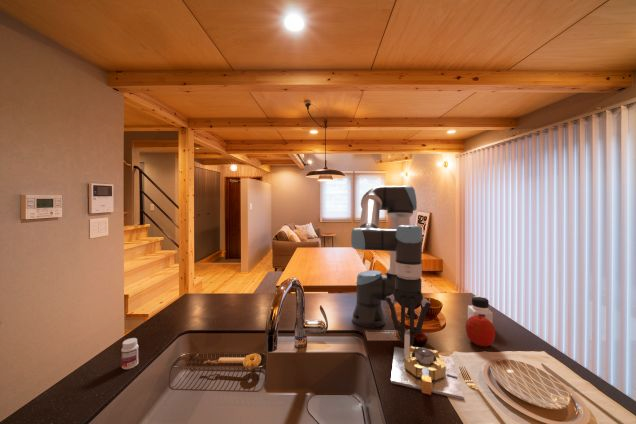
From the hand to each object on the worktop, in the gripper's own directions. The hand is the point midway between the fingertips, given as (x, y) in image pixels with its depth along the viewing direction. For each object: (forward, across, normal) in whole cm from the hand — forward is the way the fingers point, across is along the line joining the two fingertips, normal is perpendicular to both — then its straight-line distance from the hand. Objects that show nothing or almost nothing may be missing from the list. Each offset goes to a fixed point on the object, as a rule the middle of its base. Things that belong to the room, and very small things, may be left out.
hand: (406, 353), depth 78 cm
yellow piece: (+9, +5, +6) cm, 12 cm away
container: (+10, +31, +54) cm, 63 cm away
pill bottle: (+11, -89, -22) cm, 92 cm away
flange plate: (+10, +5, +10) cm, 15 cm away
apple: (+10, +27, +36) cm, 46 cm away
